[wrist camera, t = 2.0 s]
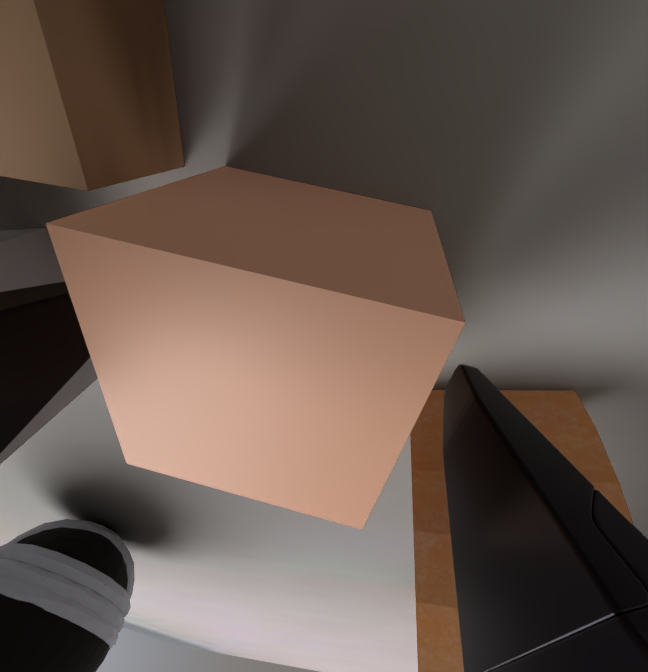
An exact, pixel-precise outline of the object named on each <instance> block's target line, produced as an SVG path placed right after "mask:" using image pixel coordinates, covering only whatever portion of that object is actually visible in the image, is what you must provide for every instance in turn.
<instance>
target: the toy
mask: <svg viewBox="0 0 648 672" xmlns="http://www.w3.org/2000/svg"><path fill="white" fill-rule="evenodd" d="M133 585H134V562H133V559H132V557H131V554H130V552H129V550H128V549H127V547H126V546H125V545H124V543H123V541H122V540H121V538H120V537H119V536H118V534H117V533H115V532H113V531H111V530H110V529H108V528H106V527H105V526H103V525H100V524H97V523H94V522H91V521H84V520H69V519H65V520H60V521H54V522H49V523H44V524H42V525H39V526H37V527H35V528H33V529H31V530H29V531H27V532H25V533H23V534H21V535H19V536H17V537H16V538H15V539H13V540H12V541H10V542H9V543H7V544H5V545H3V546H0V672H96V670H97V669H98V668H99V666H100V665H101V663H102V662H103V661H104V659H105V657H106V655H107V653H108V651H109V650H110V649H111V648H112V647H113V646H114V645H115V644H116V640H117V637H118V632H119V631H120V630H121V629H122V628H123V624H124V617H125V616H126V615H127V614H128V612H129V609H130V598H131V595H132V591H133Z"/></svg>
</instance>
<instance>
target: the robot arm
mask: <svg viewBox="0 0 648 672" xmlns="http://www.w3.org/2000/svg"><path fill="white" fill-rule="evenodd" d="M89 358H90V354H89V351H88V348H87V345H86V342H85V339H84V336H83V333H82V330H81V327H80V324H79V321H78V318H77V315H76V312H75V309H74V306H73V303H72V300H71V297H70V294H69V291H68V288H67V285H66V283H65V281H64V282H58V283H52V284H46V285H40V286H34V287H27V288H21V289H15V290H9V291H3V292H0V454H1V453H2V452H3V450H4V449H5V448H6V447H7V446H8V445H9V444H10V443H11V442H12V441H13V440H14V439H15V438H16V437H17V436H18V434H19V433H20V432H21V431H22V430H23V429H24V428H25V427H26V426H27V425H28V424H29V423H30V422H31V421H32V420H33V418H34V417H35V416H36V415H37V414H38V413H39V412H40V411H41V410H42V409H43V408H44V407H45V406H46V405H47V404H48V402H49V401H50V400H51V399H52V398H53V397H54V396H55V395H56V394H57V393H58V392H59V391H60V390H61V389H62V388H63V386H64V385H65V384H66V383H67V382H68V381H69V380H70V379H71V378H72V377H73V376H74V375H75V374H76V373H77V372H78V370H79V369H80V368H81V367H82V366H83V365H84V364H85V363H86V362H87V361H88V360H89ZM443 462H444V473H445V483H446V493H447V504H448V514H449V524H450V534H451V545H452V555H453V565H454V576H455V586H456V596H457V607H458V617H459V627H460V637H461V648H462V658H463V668H464V672H648V539H647V538H646V537H645V536H644V535H643V534H642V533H641V532H640V531H639V530H638V529H637V528H636V527H635V526H634V525H633V524H632V523H630V522H629V521H628V520H627V519H626V518H625V517H624V516H623V515H622V514H621V513H620V512H619V511H618V510H617V509H616V508H615V507H614V506H613V505H612V504H611V503H610V502H609V501H608V500H607V499H606V498H605V497H604V496H603V495H602V494H601V493H600V492H599V491H598V490H594V486H593V485H592V484H591V483H590V482H589V481H588V480H587V479H586V478H585V477H584V476H583V475H582V474H581V473H580V472H579V470H578V469H577V468H576V467H575V466H574V465H573V464H572V463H571V462H570V461H569V460H568V459H567V458H566V457H565V456H564V455H563V454H562V453H561V452H560V451H559V450H558V449H557V448H556V447H555V446H554V445H553V444H552V443H551V442H550V441H549V440H548V439H547V438H546V437H545V436H544V435H543V434H542V433H541V432H540V431H539V430H538V429H537V428H536V427H535V426H534V425H533V424H532V423H531V422H530V421H529V420H528V419H527V418H526V417H525V416H524V415H523V414H522V413H521V412H520V411H519V410H518V409H517V408H516V407H515V406H514V405H513V404H512V403H511V402H510V401H509V400H508V399H507V398H506V397H505V396H504V395H503V394H502V393H501V392H500V391H499V390H498V389H497V388H496V387H495V386H494V385H493V384H492V383H491V382H490V381H489V380H488V379H487V378H486V377H485V376H484V375H483V374H482V373H481V372H480V371H479V370H478V369H477V368H475V367H471V366H467V365H463V364H461V365H459V366H458V367H457V368H456V370H455V371H454V373H453V375H452V377H451V379H450V381H449V383H448V385H447V386H446V389H445V392H444V408H443Z"/></svg>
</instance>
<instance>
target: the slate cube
mask: <svg viewBox="0 0 648 672" xmlns="http://www.w3.org/2000/svg"><path fill="white" fill-rule="evenodd" d="M64 281H65V280H64V277H63V274H62V271H61V268H60V265H59V262H58V259H57V256H56V253H55V250H54V247H53V244H52V241H51V238H50V236H49V234H48V232H47V231H46V229H45V228H37V229H19V230H1V231H0V292H3V291H9V290H15V289H21V288H27V287H34V286H40V285H46V284H52V283H58V282H64ZM97 378H98V377H97V374H96V371H95V369H94V366H93V363H92V360H91V357H90V358H89V360H88V361H87V362H86V363H85V364H84V365H83V366H82V367H81V368H80V369H79V370H78V372H77V373H76V374H75V375H74V376H73V377H72V378H71V379H70V380H69V381H68V382H67V383H66V384H65V385H64V386H63V388H62V389H61V390H60V391H59V392H58V393H57V394H56V395H55V396H54V397H53V398H52V399H51V400H50V401H49V402H48V404H47V405H46V406H45V407H44V408H43V409H42V410H41V411H40V412H39V413H38V414H37V415H36V416H35V417H34V418H33V420H32V421H31V422H30V423H29V424H28V425H27V426H26V427H25V428H24V429H23V430H22V431H21V432H20V433H19V434H18V436H17V437H16V438H15V439H14V440H13V441H12V442H11V443H10V444H9V445H8V446H7V447H6V448H5V449H4V450H3V452H2V453H1V454H0V464H1V463H2V462H3V461H4V460H6V459H7V458H8V457H9V456H10V455H11V454H12V453H14V452H15V451H16V450H17V449H18V448H19V447H20V446H21V445H23V444H24V443H25V442H26V441H27V440H28V439H29V438H31V437H32V436H33V435H34V434H35V433H36V432H37V431H38V430H40V429H41V428H42V427H43V426H44V425H45V424H46V423H48V422H49V421H50V420H51V419H52V418H53V417H54V416H55V415H57V414H58V413H59V412H60V411H61V410H62V409H63V408H64V407H66V406H67V405H68V404H69V403H70V402H71V401H72V400H74V399H75V398H76V397H77V396H78V395H79V394H80V393H81V392H83V391H84V390H85V389H86V388H87V387H88V386H89V385H91V384H92V383H93V382H94V381H95V380H96V379H97Z"/></svg>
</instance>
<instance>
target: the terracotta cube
mask: <svg viewBox="0 0 648 672" xmlns="http://www.w3.org/2000/svg"><path fill="white" fill-rule="evenodd" d="M46 226H47V229H48V232H49V235H50V238H51V241H52V244H53V247H54V250H55V253H56V256H57V259H58V262H59V265H60V268H61V271H62V274H63V277H64V280H65V283H66V285H67V288H68V291H69V294H70V297H71V300H72V303H73V306H74V309H75V312H76V315H77V318H78V321H79V324H80V327H81V330H82V333H83V336H84V339H85V342H86V345H87V348H88V351H89V354H90V357H91V360H92V363H93V366H94V369H95V371H96V374H97V377H98V380H99V383H100V386H101V389H102V392H103V395H104V398H105V401H106V404H107V407H108V410H109V413H110V416H111V419H112V422H113V425H114V428H115V431H116V434H117V437H118V440H119V443H120V446H121V449H122V452H123V455H124V457H125V460H126V463H127V464H130V465H134V466H137V467H141V468H144V469H148V470H151V471H155V472H159V473H162V474H166V475H169V476H173V477H176V478H180V479H183V480H187V481H191V482H194V483H198V484H201V485H205V486H208V487H212V488H215V489H219V490H222V491H226V492H230V493H233V494H237V495H240V496H244V497H247V498H251V499H254V500H258V501H262V502H265V503H269V504H272V505H276V506H279V507H283V508H286V509H290V510H294V511H297V512H301V513H304V514H308V515H311V516H315V517H318V518H322V519H326V520H329V521H333V522H336V523H340V524H343V525H347V526H350V527H354V528H358V529H361V530H362V529H363V527H364V525H365V523H366V521H367V519H368V517H369V515H370V513H371V511H372V509H373V507H374V505H375V503H376V501H377V499H378V497H379V495H380V493H381V491H382V489H383V487H384V485H385V483H386V481H387V479H388V477H389V475H390V473H391V471H392V469H393V467H394V465H395V463H396V461H397V459H398V457H399V455H400V453H401V451H402V449H403V447H404V445H405V443H406V441H407V439H408V437H409V435H410V433H411V431H412V429H413V427H414V425H415V423H416V421H417V419H418V417H419V415H420V413H421V411H422V409H423V407H424V405H425V403H426V401H427V399H428V397H429V395H430V393H431V391H432V389H433V387H434V385H435V383H436V381H437V379H438V377H439V375H440V373H441V371H442V369H443V367H444V365H445V363H446V361H447V359H448V357H449V355H450V353H451V351H452V349H453V347H454V345H455V343H456V341H457V339H458V337H459V335H460V333H461V331H462V329H463V327H464V325H465V320H464V316H463V313H462V310H461V307H460V303H459V300H458V297H457V293H456V290H455V287H454V284H453V280H452V277H451V274H450V271H449V267H448V264H447V261H446V258H445V254H444V251H443V248H442V245H441V241H440V238H439V235H438V232H437V228H436V225H435V222H434V219H433V215H432V212H431V211H430V210H425V209H420V208H416V207H411V206H407V205H402V204H397V203H393V202H388V201H384V200H379V199H374V198H370V197H365V196H361V195H356V194H351V193H347V192H342V191H338V190H333V189H328V188H324V187H319V186H315V185H310V184H305V183H301V182H296V181H291V180H287V179H282V178H278V177H273V176H268V175H264V174H259V173H255V172H250V171H245V170H241V169H236V168H232V167H227V166H224V167H221V168H218V169H214V170H211V171H208V172H205V173H202V174H199V175H196V176H192V177H189V178H186V179H183V180H180V181H177V182H174V183H170V184H167V185H164V186H161V187H158V188H155V189H152V190H148V191H145V192H142V193H139V194H136V195H133V196H130V197H126V198H123V199H120V200H117V201H114V202H111V203H108V204H104V205H101V206H98V207H95V208H92V209H89V210H86V211H82V212H79V213H76V214H73V215H70V216H67V217H63V218H60V219H57V220H54V221H51V222H48V223H46Z"/></svg>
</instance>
